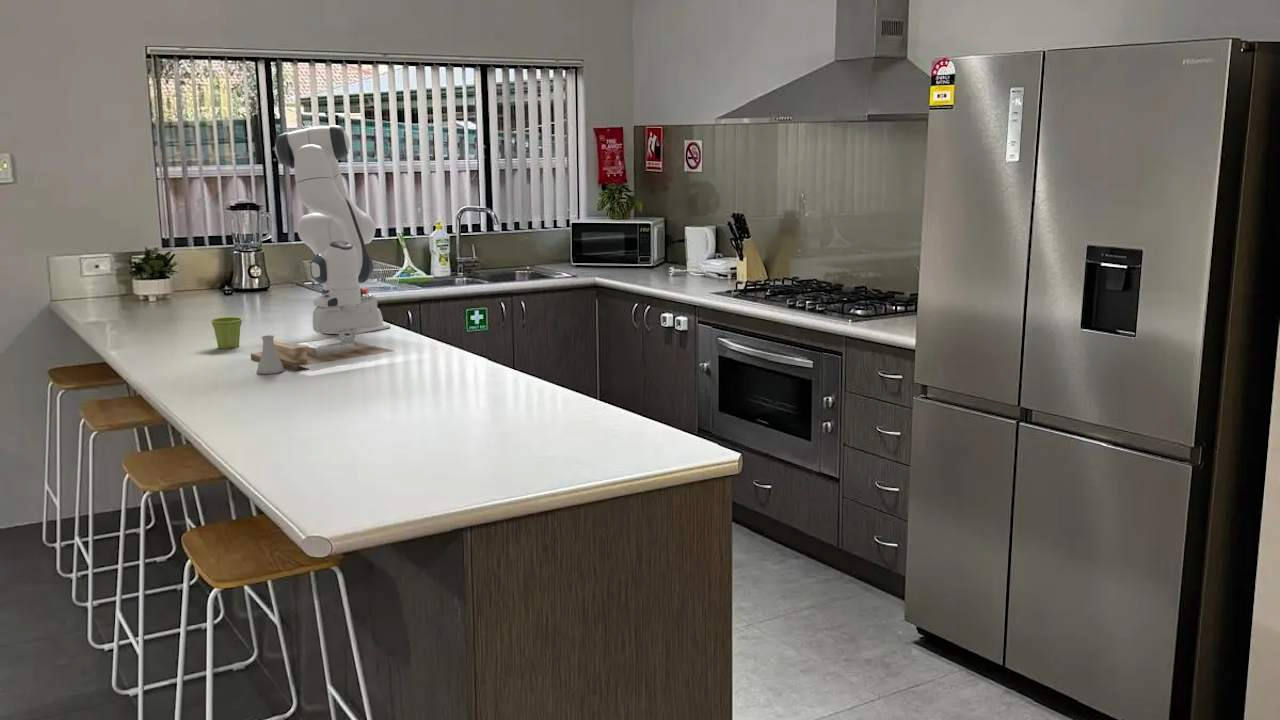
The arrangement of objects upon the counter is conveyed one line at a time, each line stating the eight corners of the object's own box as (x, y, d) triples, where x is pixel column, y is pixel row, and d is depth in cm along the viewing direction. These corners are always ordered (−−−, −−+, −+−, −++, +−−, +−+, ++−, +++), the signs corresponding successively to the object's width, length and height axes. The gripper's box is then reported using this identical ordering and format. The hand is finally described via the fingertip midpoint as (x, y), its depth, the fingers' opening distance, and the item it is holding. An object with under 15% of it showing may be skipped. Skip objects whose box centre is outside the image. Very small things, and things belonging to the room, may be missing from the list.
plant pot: (250, 344, 359) (247, 316, 357) (236, 350, 350) (234, 321, 348) (221, 344, 360) (218, 317, 358) (207, 350, 351) (204, 321, 349)
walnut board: (347, 344, 356) (346, 339, 355) (395, 355, 335) (394, 350, 335) (250, 358, 335) (250, 353, 335) (296, 371, 315) (295, 366, 314)
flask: (276, 375, 311) (273, 338, 309) (251, 374, 312) (248, 338, 310) (289, 369, 318) (286, 334, 316) (265, 369, 319) (262, 333, 317)
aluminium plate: (333, 346, 344) (333, 338, 343) (354, 351, 335) (353, 342, 335) (296, 352, 336) (295, 343, 335) (316, 357, 327) (316, 348, 327)
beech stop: (277, 352, 335) (276, 339, 334) (307, 360, 322) (306, 346, 321) (264, 354, 332) (263, 341, 332) (294, 362, 319) (292, 348, 319)
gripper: (370, 293, 347) (373, 338, 349) (308, 300, 333) (311, 347, 335) (382, 295, 342) (384, 341, 345) (319, 302, 328) (322, 350, 331)
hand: (348, 344), depth 340 cm, fingers closed
